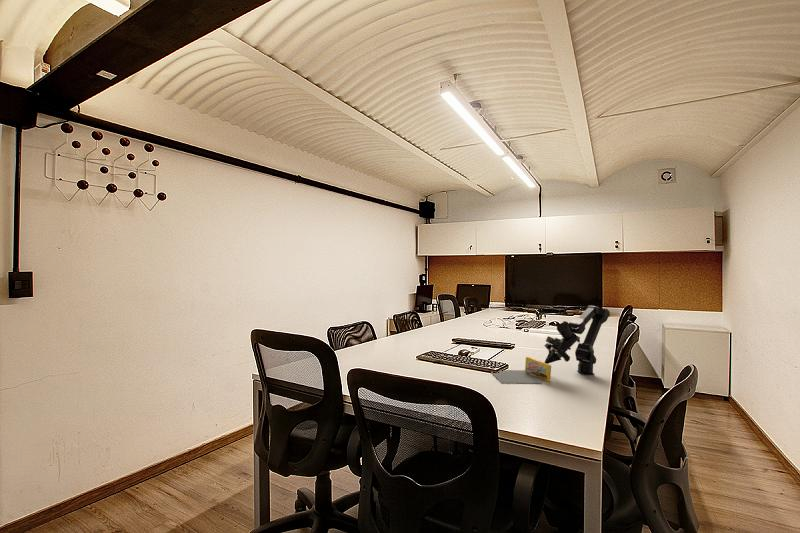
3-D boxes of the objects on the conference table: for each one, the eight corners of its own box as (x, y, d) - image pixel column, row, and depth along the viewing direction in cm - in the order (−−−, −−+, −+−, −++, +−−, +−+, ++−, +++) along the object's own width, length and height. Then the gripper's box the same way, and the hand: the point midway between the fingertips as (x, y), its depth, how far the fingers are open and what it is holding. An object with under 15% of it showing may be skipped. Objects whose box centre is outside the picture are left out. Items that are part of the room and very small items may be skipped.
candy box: (524, 372, 207) (525, 356, 207) (527, 371, 208) (528, 356, 208) (547, 381, 193) (548, 365, 193) (550, 381, 194) (552, 364, 194)
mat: (525, 371, 211) (525, 370, 211) (541, 383, 189) (541, 382, 189) (489, 370, 211) (489, 370, 211) (501, 383, 189) (501, 382, 189)
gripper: (548, 328, 210) (527, 348, 210) (564, 334, 191) (541, 356, 191) (562, 342, 210) (541, 362, 210) (579, 350, 192) (557, 372, 191)
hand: (545, 363), depth 200 cm, fingers closed
